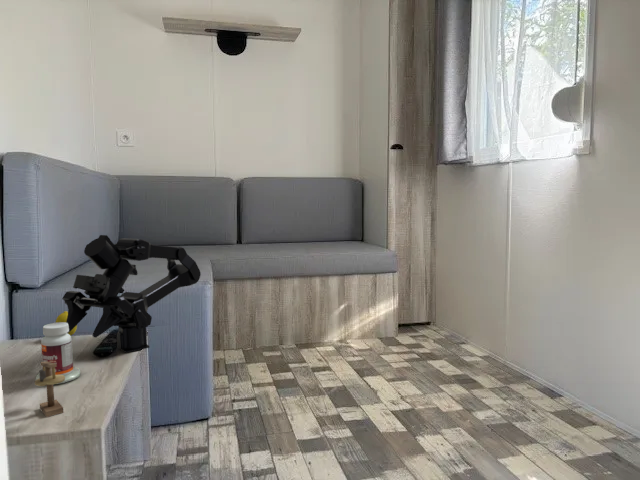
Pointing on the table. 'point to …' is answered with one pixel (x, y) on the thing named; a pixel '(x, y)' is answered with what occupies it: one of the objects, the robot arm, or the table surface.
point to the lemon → (63, 318)
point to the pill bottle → (58, 347)
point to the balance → (49, 388)
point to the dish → (68, 377)
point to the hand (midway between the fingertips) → (79, 334)
